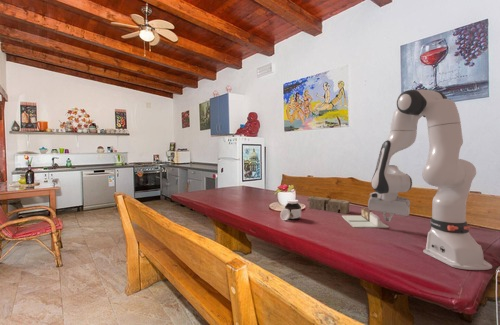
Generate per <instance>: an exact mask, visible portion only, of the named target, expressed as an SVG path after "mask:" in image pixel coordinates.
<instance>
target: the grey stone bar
mask: <svg viewBox="0 0 500 325" xmlns="http://www.w3.org/2000/svg"><path fill="white" fill-rule="evenodd" d="M307 202H309V203H308V208H309V209H311V210H318V211H326V212H329V213H330V212H332V213H340V214H343V215H347V214H349V213H350V201H349V200H345V199H344V200H342V199H336V198H335V199H334V198H332V199H331V198H328V197H319V196H313V195H312V196H309V197H307Z"/></svg>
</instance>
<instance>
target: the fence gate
mask: <svg viewBox="0 0 500 325" xmlns="http://www.w3.org/2000/svg"><path fill="white" fill-rule="evenodd" d="M380 221H381V220H380V216H378V215H377V214H375V213H373V212H372V211H371V212H370V222H372V223H373V224H374V225H376V226H377V227H380Z"/></svg>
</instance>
